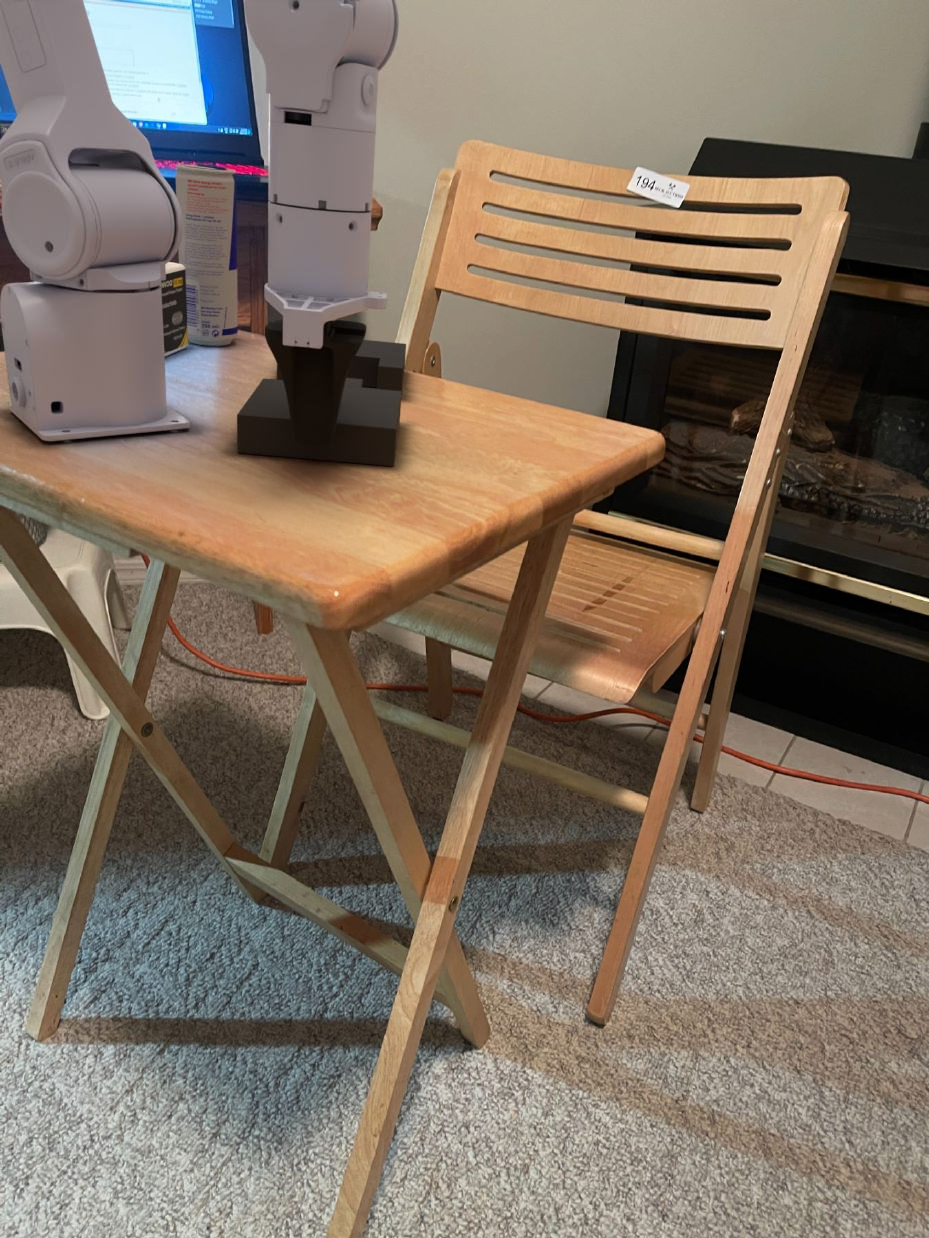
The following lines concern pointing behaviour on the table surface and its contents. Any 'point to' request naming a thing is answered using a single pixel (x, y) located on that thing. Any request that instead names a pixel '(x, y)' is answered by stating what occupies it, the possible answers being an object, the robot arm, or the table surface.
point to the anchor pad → (377, 365)
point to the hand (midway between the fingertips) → (314, 443)
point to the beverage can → (209, 251)
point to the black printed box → (174, 308)
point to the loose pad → (358, 432)
